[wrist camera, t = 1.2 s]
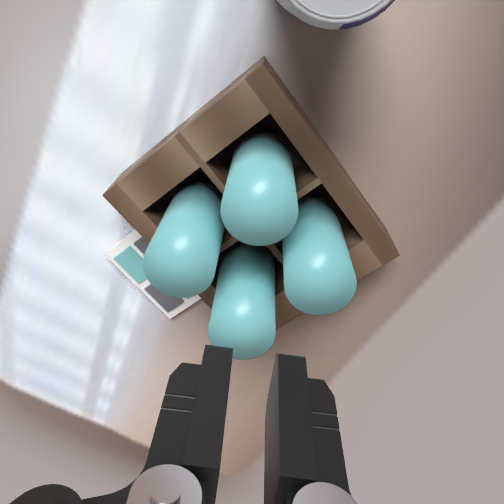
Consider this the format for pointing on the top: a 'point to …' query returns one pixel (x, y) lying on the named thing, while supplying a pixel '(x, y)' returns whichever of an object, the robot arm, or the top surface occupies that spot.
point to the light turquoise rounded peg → (244, 302)
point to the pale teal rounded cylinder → (186, 242)
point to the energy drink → (335, 11)
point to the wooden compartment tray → (217, 168)
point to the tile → (131, 264)
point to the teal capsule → (260, 191)
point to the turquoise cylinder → (317, 260)
